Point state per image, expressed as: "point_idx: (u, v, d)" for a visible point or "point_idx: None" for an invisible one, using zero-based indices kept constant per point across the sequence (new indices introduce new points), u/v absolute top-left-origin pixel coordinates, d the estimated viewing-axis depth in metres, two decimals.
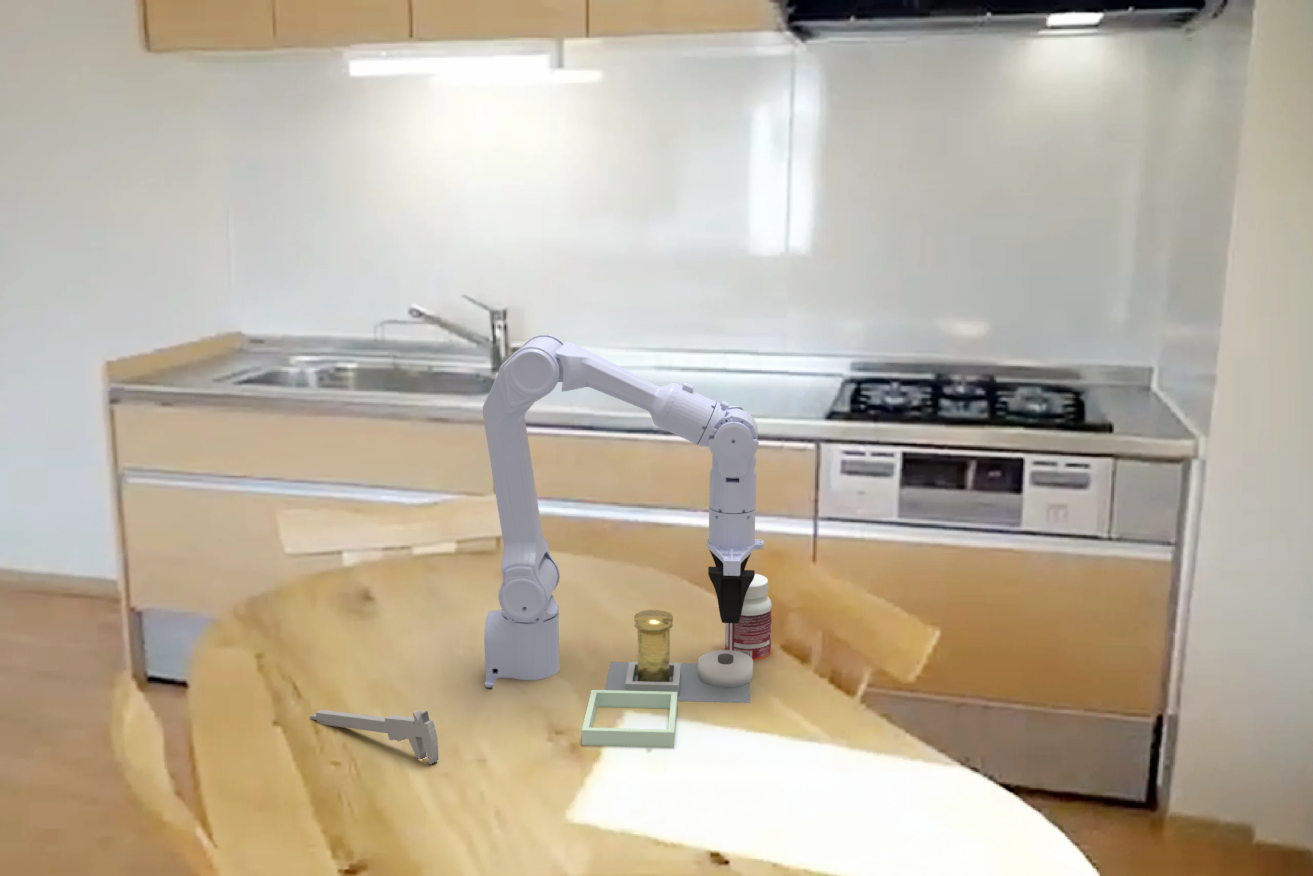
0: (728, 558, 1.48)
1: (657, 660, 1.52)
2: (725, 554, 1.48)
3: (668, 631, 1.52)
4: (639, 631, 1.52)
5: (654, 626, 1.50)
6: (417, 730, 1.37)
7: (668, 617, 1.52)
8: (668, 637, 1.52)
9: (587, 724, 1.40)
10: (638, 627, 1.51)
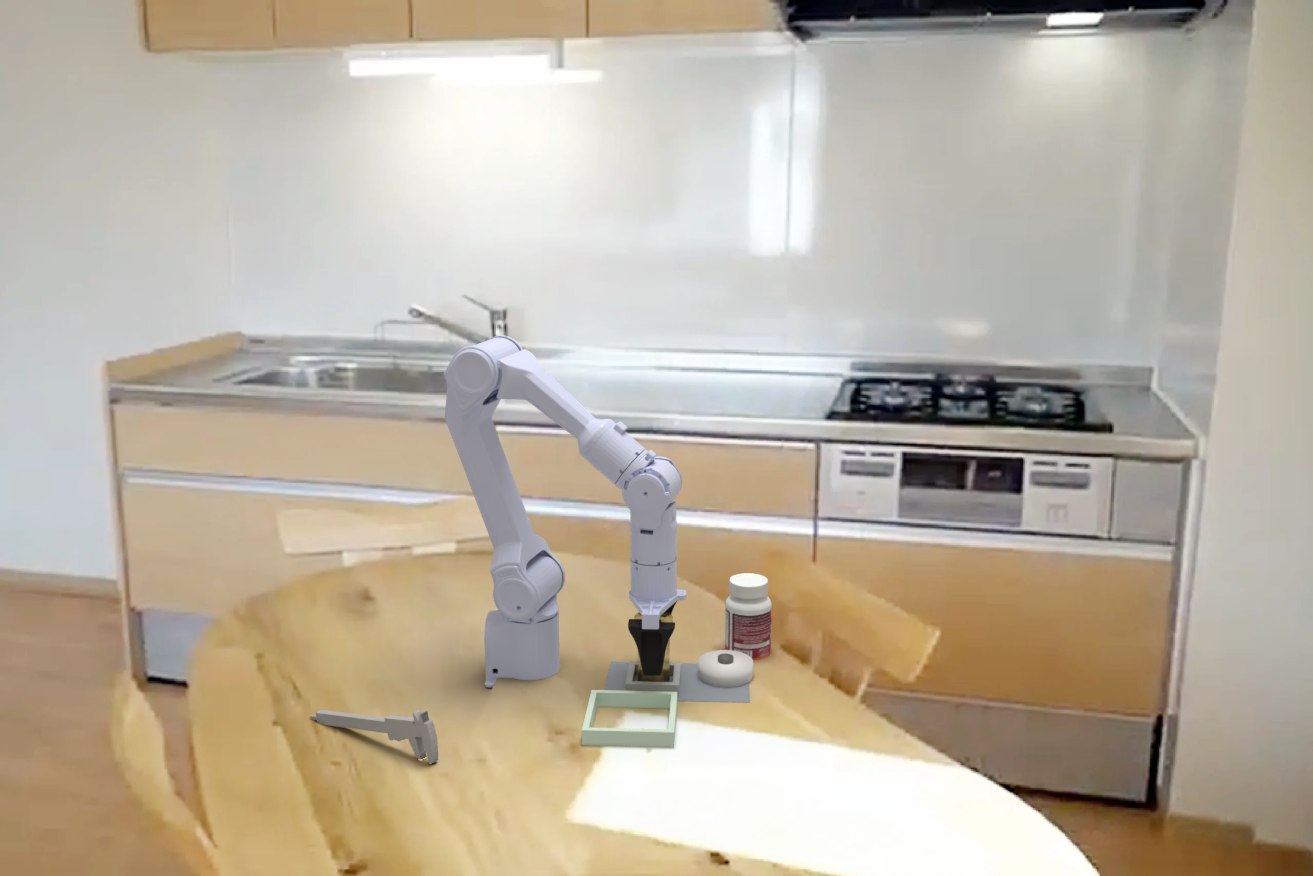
0: (647, 611, 1.47)
1: None
2: (645, 607, 1.47)
3: None
4: None
5: None
6: (417, 730, 1.37)
7: (668, 617, 1.52)
8: None
9: (587, 724, 1.40)
10: None
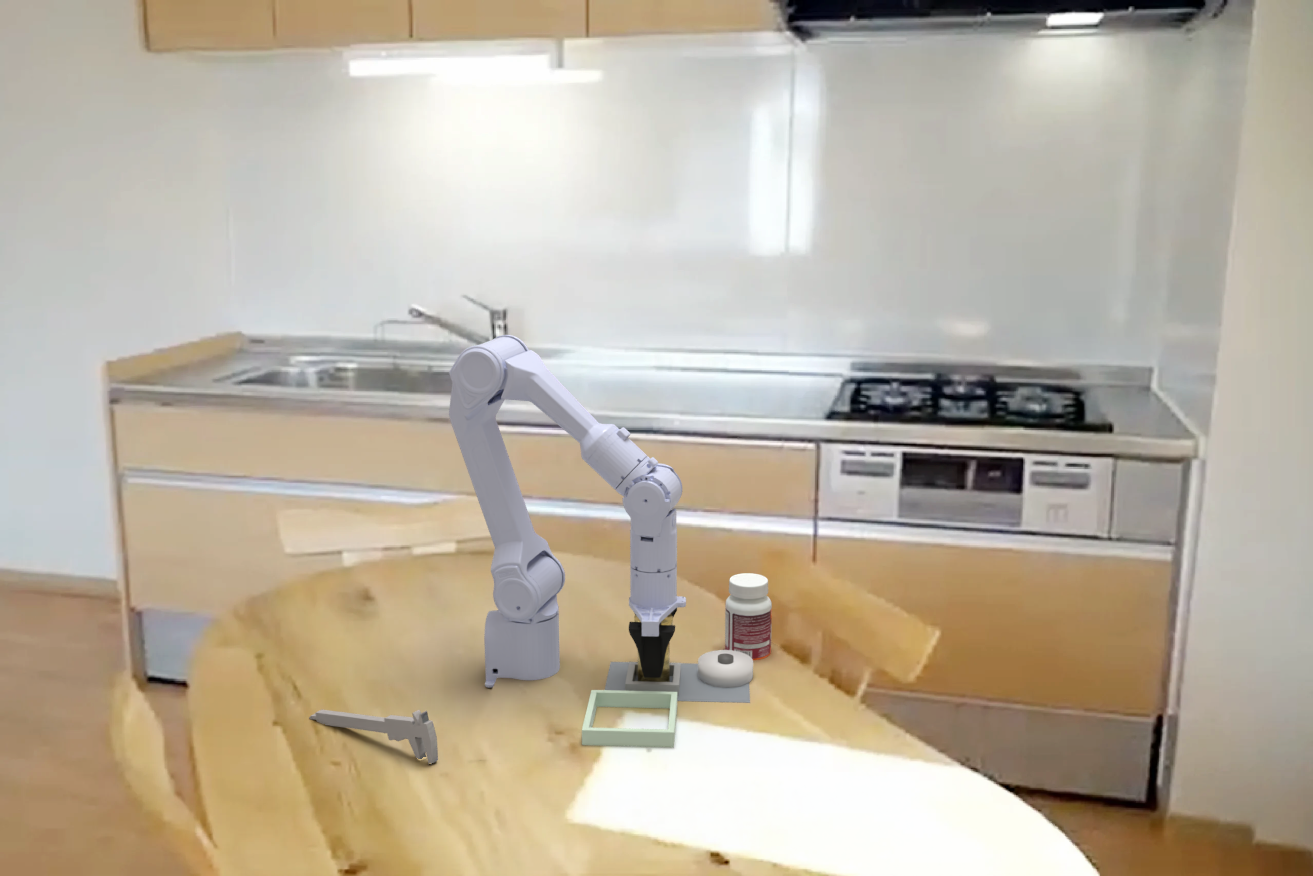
0: (647, 618, 1.47)
1: None
2: (644, 614, 1.47)
3: None
4: None
5: None
6: (416, 730, 1.37)
7: (668, 617, 1.52)
8: None
9: (587, 724, 1.40)
10: None
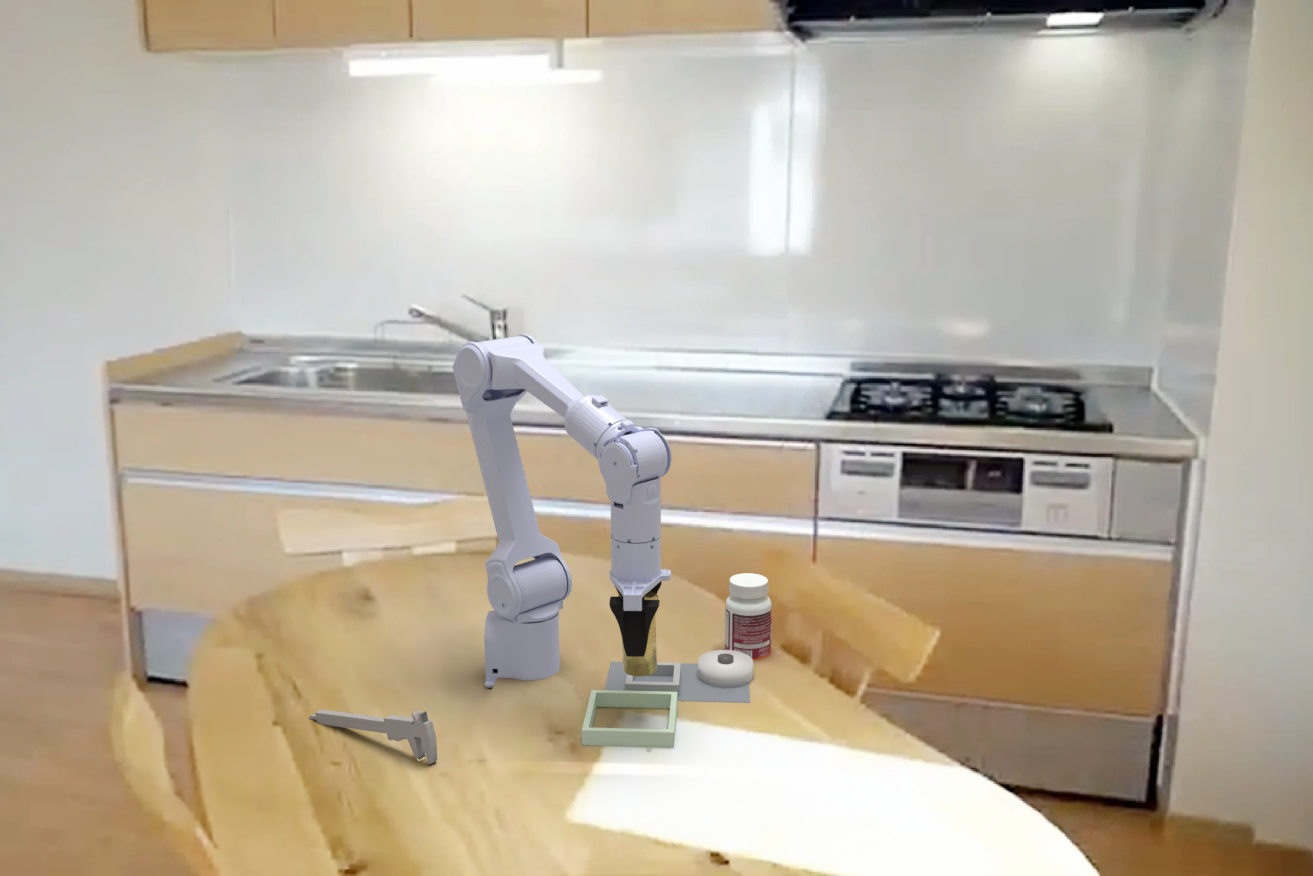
0: (629, 591, 1.37)
1: None
2: (626, 587, 1.37)
3: None
4: None
5: None
6: (416, 730, 1.37)
7: (653, 597, 1.42)
8: (654, 618, 1.42)
9: (587, 724, 1.40)
10: None
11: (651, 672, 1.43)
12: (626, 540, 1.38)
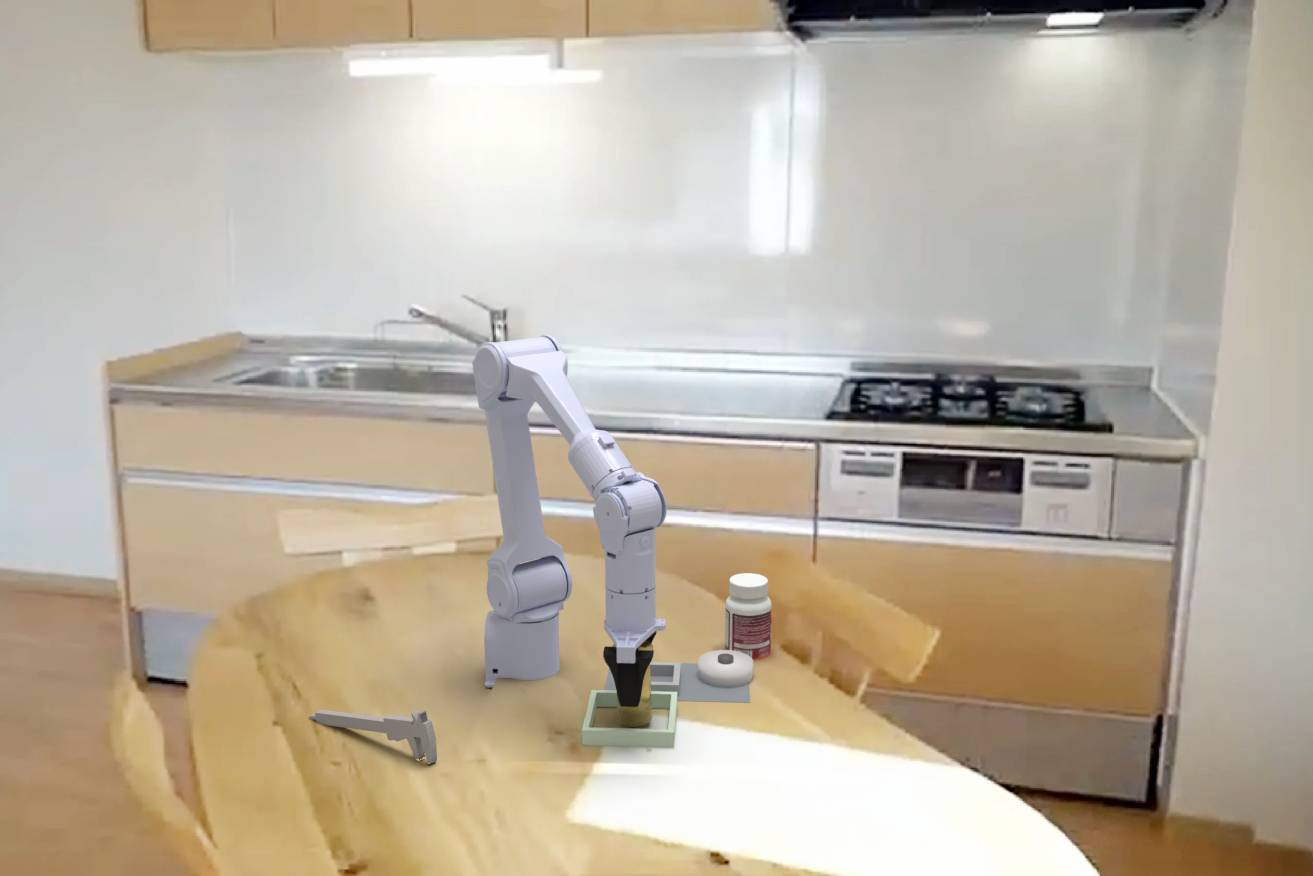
0: (623, 643, 1.36)
1: None
2: (620, 638, 1.36)
3: None
4: None
5: None
6: (415, 730, 1.37)
7: (648, 647, 1.41)
8: (648, 668, 1.41)
9: (587, 724, 1.40)
10: None
11: (645, 722, 1.42)
12: (618, 590, 1.37)
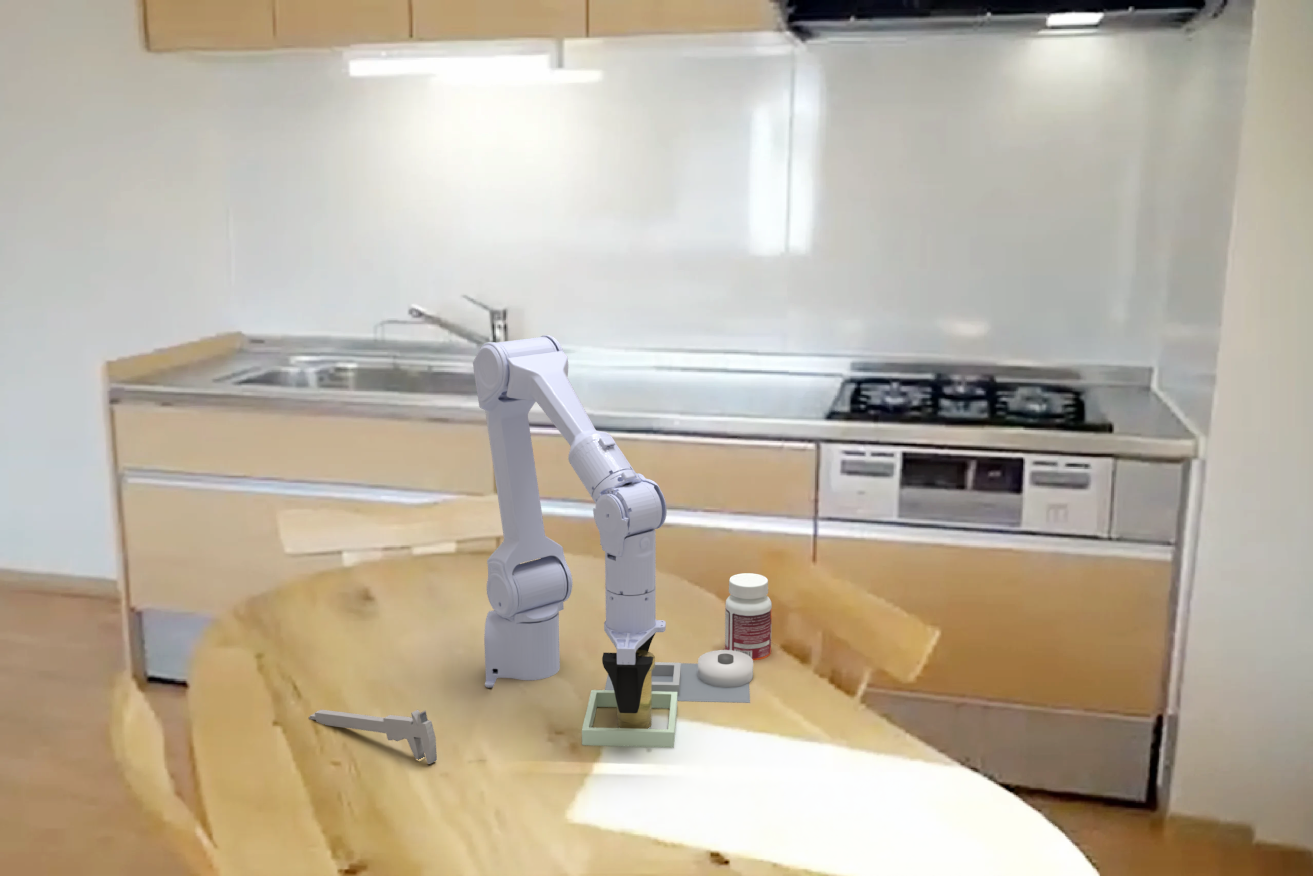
0: (623, 644, 1.36)
1: None
2: (620, 640, 1.36)
3: (650, 673, 1.42)
4: None
5: None
6: (415, 730, 1.37)
7: None
8: (650, 679, 1.42)
9: (587, 724, 1.40)
10: None
11: None
12: (618, 592, 1.37)
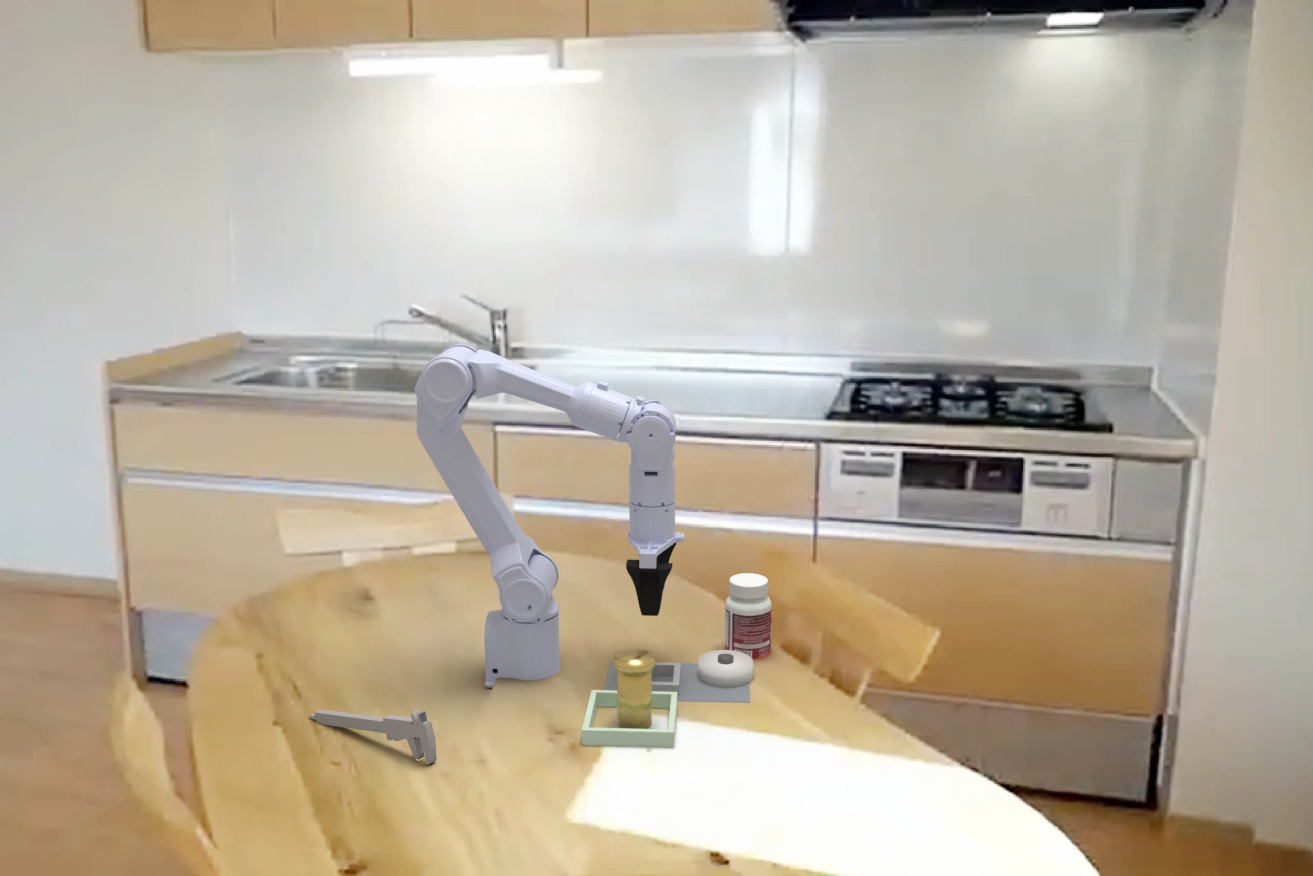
0: (645, 551, 1.49)
1: (638, 704, 1.41)
2: (642, 547, 1.49)
3: (650, 673, 1.42)
4: (619, 673, 1.42)
5: (635, 668, 1.40)
6: (415, 730, 1.37)
7: (650, 658, 1.42)
8: (650, 679, 1.42)
9: (587, 724, 1.40)
10: (618, 669, 1.41)
11: None
12: (660, 504, 1.50)
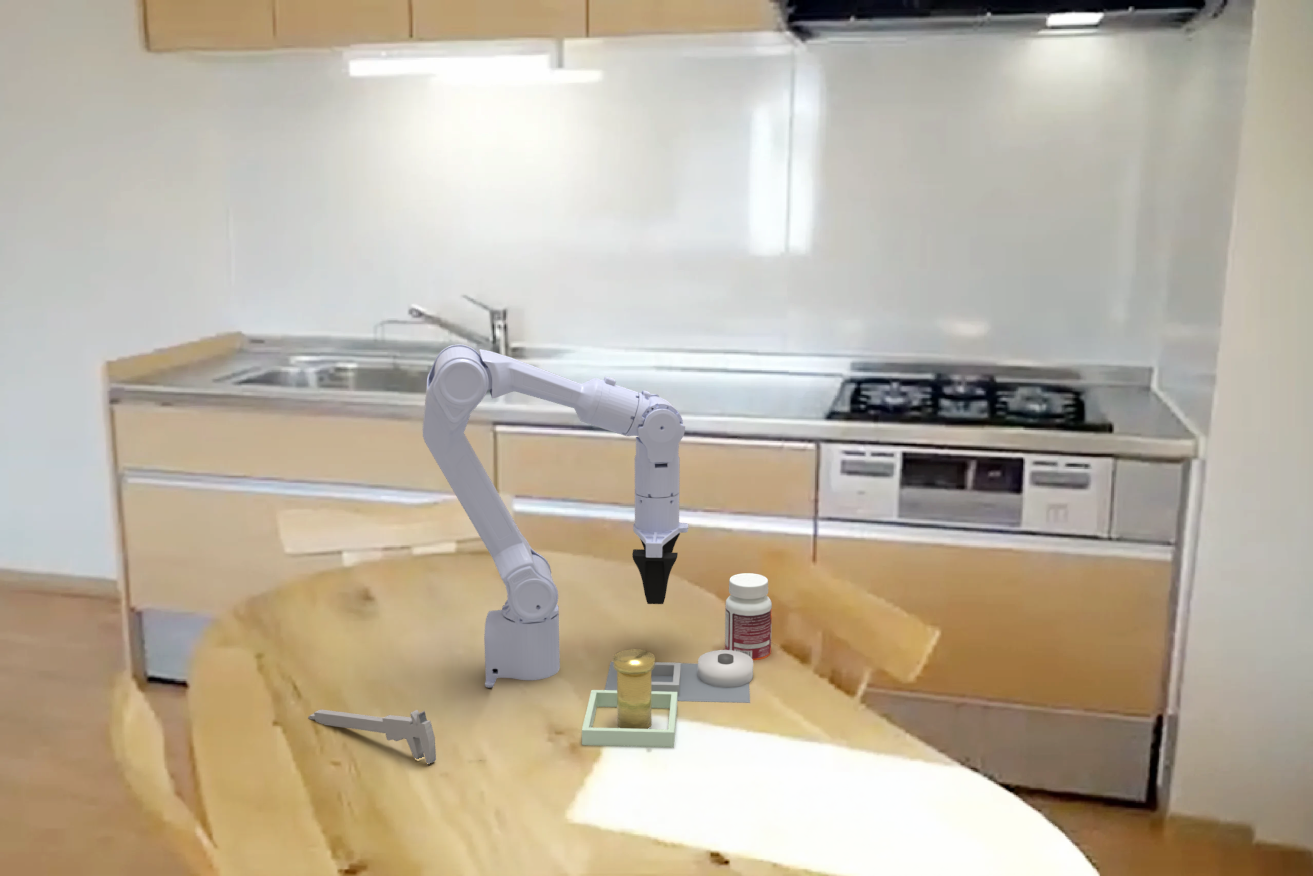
0: (651, 541, 1.53)
1: (638, 704, 1.41)
2: (648, 537, 1.53)
3: (650, 673, 1.42)
4: (619, 673, 1.42)
5: (635, 668, 1.40)
6: (414, 730, 1.37)
7: (650, 658, 1.42)
8: (650, 679, 1.42)
9: (587, 724, 1.40)
10: (617, 669, 1.41)
11: None
12: (669, 494, 1.54)
